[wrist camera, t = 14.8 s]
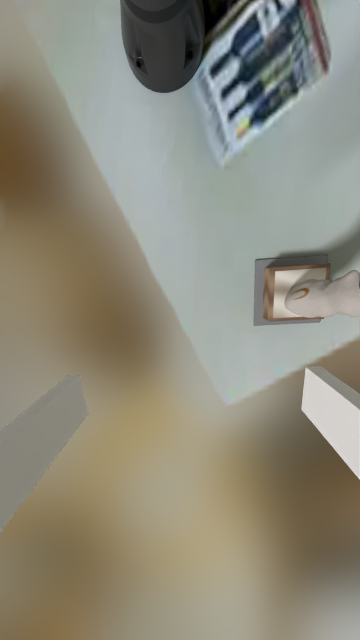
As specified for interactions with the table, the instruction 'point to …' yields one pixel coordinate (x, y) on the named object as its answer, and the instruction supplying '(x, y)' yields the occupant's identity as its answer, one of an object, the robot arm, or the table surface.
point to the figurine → (326, 297)
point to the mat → (260, 284)
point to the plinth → (287, 288)
